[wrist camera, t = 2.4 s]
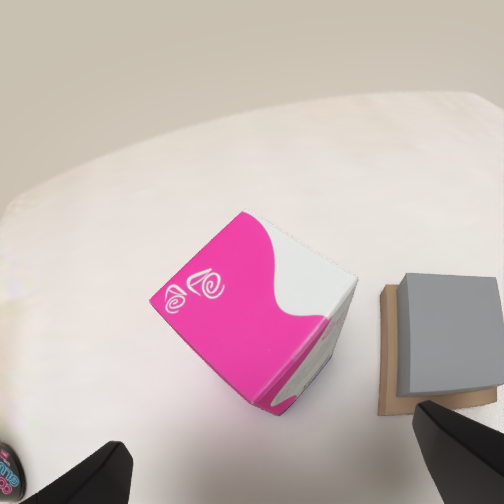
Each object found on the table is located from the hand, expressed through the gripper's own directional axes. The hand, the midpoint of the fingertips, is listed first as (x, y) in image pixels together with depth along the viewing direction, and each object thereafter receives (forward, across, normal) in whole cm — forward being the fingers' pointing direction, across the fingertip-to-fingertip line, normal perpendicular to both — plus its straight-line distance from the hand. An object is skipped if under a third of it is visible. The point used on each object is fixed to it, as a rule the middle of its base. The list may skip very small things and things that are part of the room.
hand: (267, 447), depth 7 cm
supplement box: (+12, 0, +5) cm, 13 cm away
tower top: (+9, -12, +5) cm, 16 cm away
